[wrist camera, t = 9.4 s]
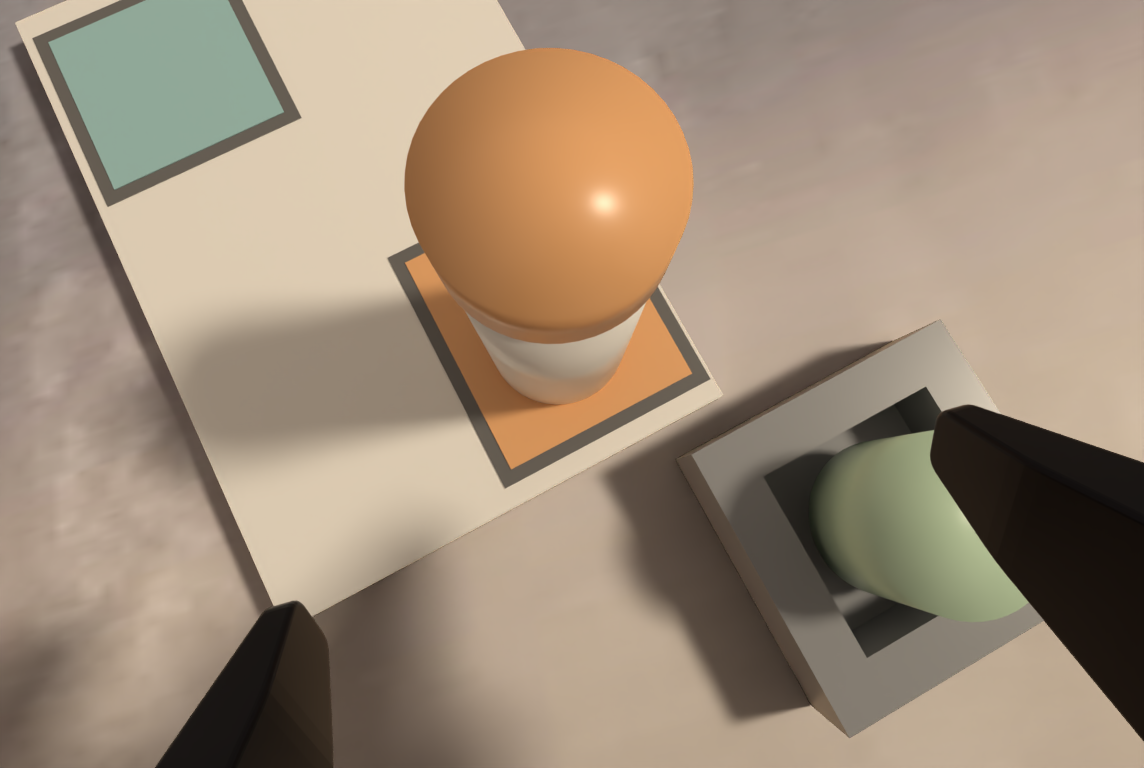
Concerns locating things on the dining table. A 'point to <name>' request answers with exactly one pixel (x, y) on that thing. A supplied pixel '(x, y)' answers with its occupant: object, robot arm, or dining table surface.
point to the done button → (905, 533)
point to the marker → (550, 211)
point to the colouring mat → (322, 274)
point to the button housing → (787, 550)
